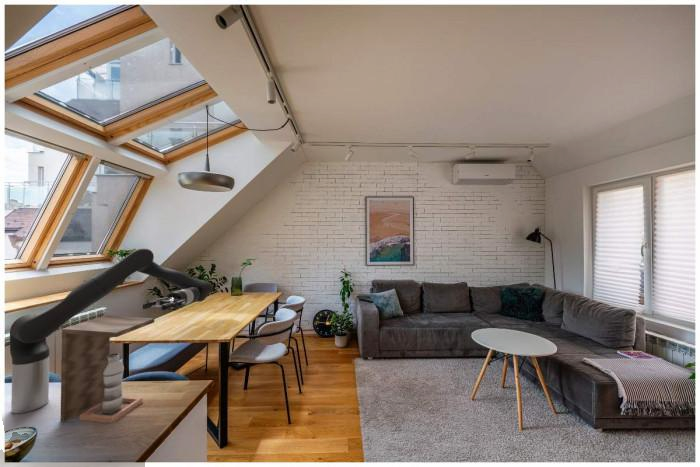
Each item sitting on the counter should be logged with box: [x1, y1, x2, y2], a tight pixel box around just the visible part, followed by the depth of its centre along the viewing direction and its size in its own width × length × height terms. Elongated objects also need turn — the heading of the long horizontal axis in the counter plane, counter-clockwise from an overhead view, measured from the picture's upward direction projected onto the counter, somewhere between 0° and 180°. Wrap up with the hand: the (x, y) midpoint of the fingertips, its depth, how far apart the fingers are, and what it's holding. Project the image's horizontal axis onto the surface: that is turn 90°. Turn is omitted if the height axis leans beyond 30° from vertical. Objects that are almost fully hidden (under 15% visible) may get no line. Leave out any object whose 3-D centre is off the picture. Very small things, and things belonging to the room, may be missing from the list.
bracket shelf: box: [60, 315, 155, 423], centre depth 106 cm, size 16×20×32 cm
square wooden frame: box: [79, 395, 143, 424], centre depth 106 cm, size 12×12×2 cm
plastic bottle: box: [100, 352, 125, 415], centre depth 105 cm, size 6×7×20 cm
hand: (153, 307), depth 119 cm, fingers open, 8 cm apart
